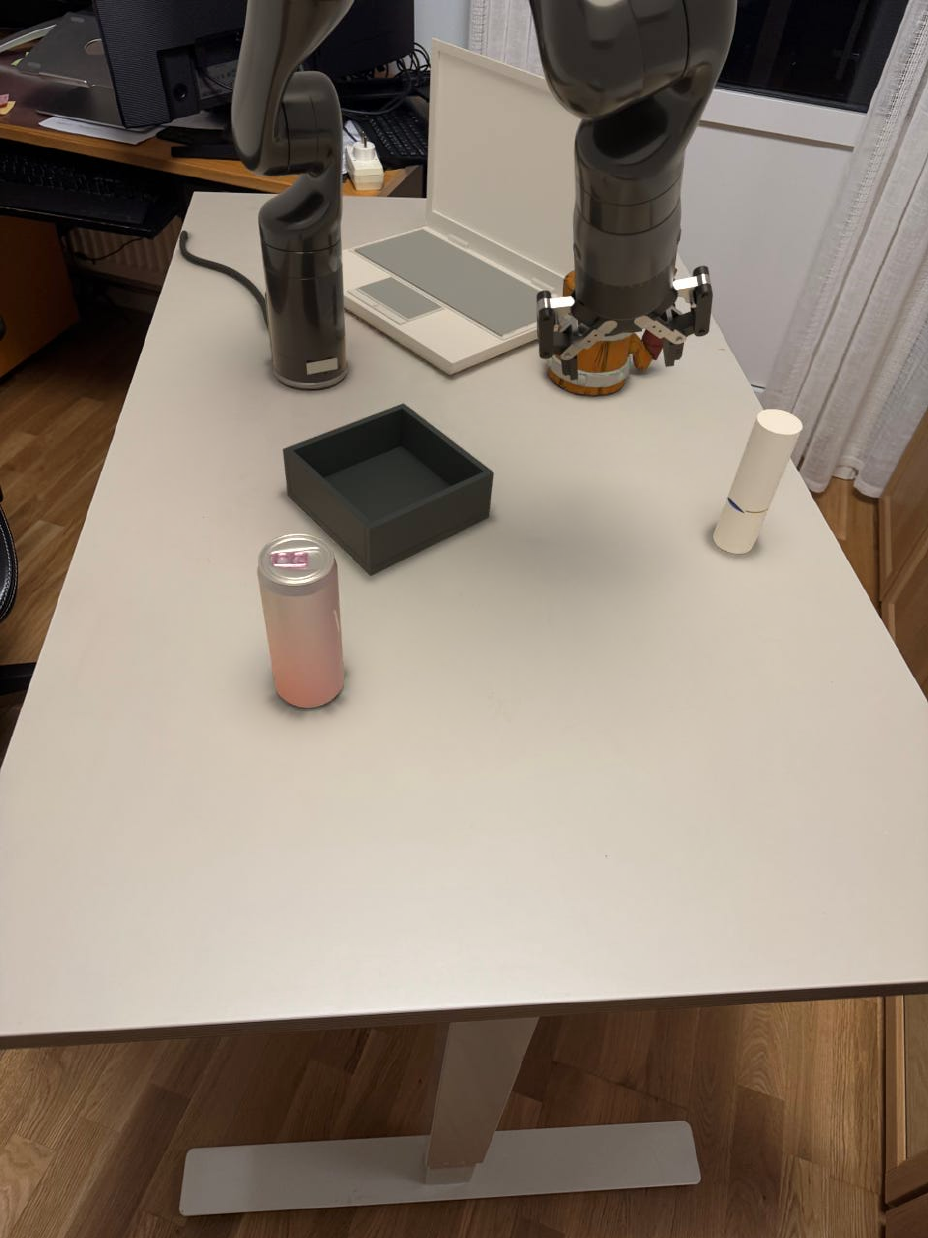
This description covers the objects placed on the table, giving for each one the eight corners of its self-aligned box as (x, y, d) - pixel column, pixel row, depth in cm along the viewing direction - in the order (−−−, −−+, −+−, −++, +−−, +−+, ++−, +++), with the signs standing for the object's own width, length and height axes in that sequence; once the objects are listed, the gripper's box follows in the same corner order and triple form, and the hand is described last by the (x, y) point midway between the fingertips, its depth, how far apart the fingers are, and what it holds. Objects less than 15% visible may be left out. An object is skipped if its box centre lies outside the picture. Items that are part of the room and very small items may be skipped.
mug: (534, 357, 115) (549, 246, 104) (646, 351, 118) (672, 243, 107) (556, 400, 108) (575, 286, 97) (675, 393, 111) (706, 282, 100)
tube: (754, 533, 92) (803, 415, 81) (750, 558, 89) (801, 438, 78) (715, 523, 93) (759, 405, 82) (710, 547, 90) (754, 428, 79)
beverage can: (277, 659, 75) (258, 531, 64) (345, 657, 76) (337, 530, 65) (272, 712, 71) (251, 585, 60) (344, 710, 72) (336, 584, 61)
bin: (287, 494, 91) (282, 448, 87) (402, 447, 99) (403, 402, 94) (370, 575, 83) (369, 529, 79) (489, 517, 91) (494, 472, 86)
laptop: (296, 281, 126) (278, 59, 105) (430, 240, 139) (437, 36, 119) (451, 381, 109) (465, 141, 89) (586, 324, 122) (626, 104, 102)
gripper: (718, 180, 61) (694, 317, 77) (523, 213, 63) (538, 340, 78) (734, 266, 59) (706, 390, 74) (532, 297, 61) (545, 412, 76)
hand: (620, 364), depth 76 cm, fingers open, 8 cm apart
